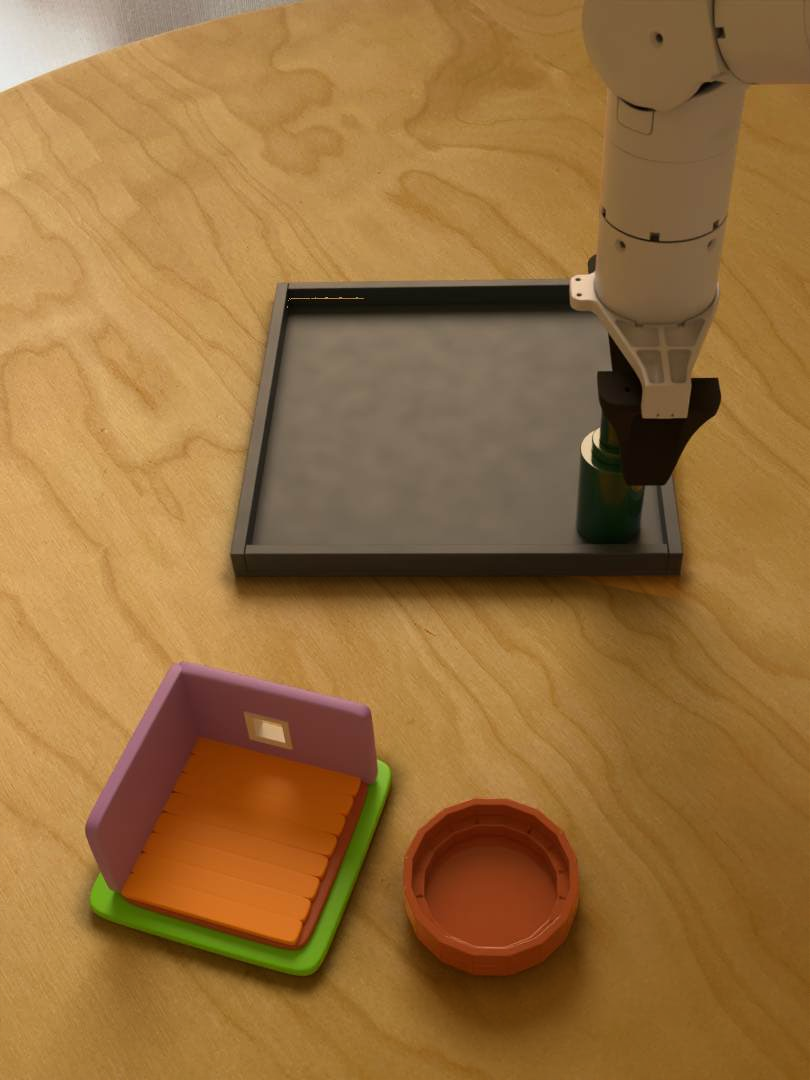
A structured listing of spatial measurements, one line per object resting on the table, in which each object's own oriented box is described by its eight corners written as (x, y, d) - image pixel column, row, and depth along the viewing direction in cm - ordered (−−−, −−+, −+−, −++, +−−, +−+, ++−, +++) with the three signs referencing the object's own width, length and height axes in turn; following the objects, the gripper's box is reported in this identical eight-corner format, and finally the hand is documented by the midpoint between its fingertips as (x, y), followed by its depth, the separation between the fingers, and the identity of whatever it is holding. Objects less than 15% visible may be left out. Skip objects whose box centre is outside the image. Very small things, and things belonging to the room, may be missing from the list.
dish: (572, 825, 66) (574, 798, 64) (579, 982, 60) (582, 957, 58) (409, 823, 66) (406, 796, 64) (402, 978, 61) (399, 954, 59)
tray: (644, 299, 93) (646, 276, 92) (680, 576, 76) (683, 553, 75) (280, 304, 95) (277, 282, 94) (234, 576, 78) (229, 554, 76)
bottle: (637, 499, 80) (651, 385, 73) (642, 547, 77) (657, 432, 71) (573, 500, 80) (581, 385, 73) (576, 547, 77) (584, 433, 71)
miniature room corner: (186, 715, 71) (162, 634, 66) (399, 769, 68) (392, 689, 63) (81, 915, 64) (46, 841, 58) (317, 985, 61) (301, 914, 56)
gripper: (567, 123, 65) (558, 342, 75) (581, 306, 56) (568, 530, 66) (714, 120, 65) (685, 340, 75) (753, 304, 55) (714, 529, 65)
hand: (639, 429), depth 70 cm, fingers open, 7 cm apart
